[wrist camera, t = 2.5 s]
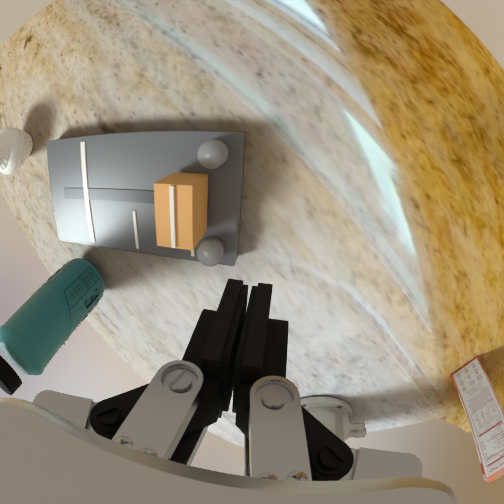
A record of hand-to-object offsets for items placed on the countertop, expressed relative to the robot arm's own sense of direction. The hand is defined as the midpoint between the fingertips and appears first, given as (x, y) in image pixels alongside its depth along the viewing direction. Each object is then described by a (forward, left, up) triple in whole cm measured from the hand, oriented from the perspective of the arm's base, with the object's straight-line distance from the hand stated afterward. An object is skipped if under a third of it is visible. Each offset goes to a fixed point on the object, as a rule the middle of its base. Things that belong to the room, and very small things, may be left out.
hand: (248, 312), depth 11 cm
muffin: (+32, -6, -16) cm, 36 cm away
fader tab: (+7, 0, -13) cm, 15 cm away
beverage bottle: (+22, +12, -16) cm, 30 cm away
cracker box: (-39, +25, -16) cm, 49 cm away
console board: (+14, 0, -16) cm, 21 cm away
